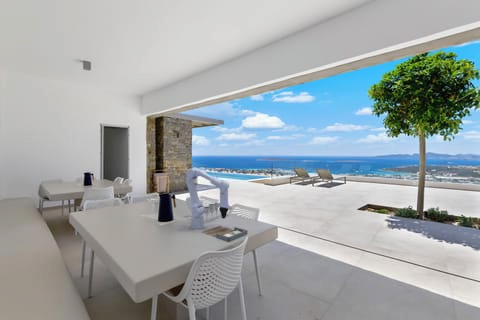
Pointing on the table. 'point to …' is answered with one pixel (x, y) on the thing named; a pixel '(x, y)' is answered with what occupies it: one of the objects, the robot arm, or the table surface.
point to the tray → (228, 239)
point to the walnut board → (217, 231)
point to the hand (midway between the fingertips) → (223, 218)
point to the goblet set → (211, 209)
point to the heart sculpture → (189, 203)
